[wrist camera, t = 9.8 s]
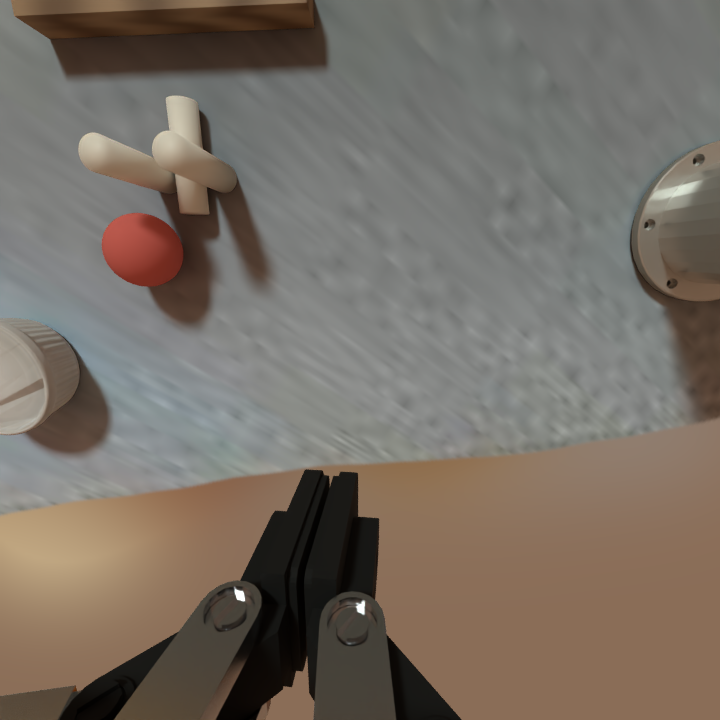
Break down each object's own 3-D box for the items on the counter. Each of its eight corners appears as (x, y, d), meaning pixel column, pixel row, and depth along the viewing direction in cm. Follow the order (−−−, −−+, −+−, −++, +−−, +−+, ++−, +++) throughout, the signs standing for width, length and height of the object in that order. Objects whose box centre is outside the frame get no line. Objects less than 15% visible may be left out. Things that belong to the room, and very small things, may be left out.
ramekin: (70, 432, 40) (26, 456, 35) (-26, 378, 39) (-86, 396, 34) (107, 348, 38) (64, 362, 33) (4, 288, 37) (-56, 293, 31)
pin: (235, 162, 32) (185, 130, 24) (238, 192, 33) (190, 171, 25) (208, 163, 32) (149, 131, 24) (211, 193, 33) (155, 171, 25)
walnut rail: (313, -4, 29) (305, -33, 26) (314, 27, 29) (306, 2, 26) (43, 9, 30) (7, -18, 27) (49, 38, 30) (14, 15, 28)
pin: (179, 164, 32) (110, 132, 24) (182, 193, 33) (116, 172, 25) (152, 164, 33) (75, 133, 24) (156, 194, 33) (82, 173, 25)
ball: (92, 224, 26) (157, 291, 29) (156, 188, 30) (208, 251, 33) (75, 249, 31) (134, 306, 33) (133, 215, 34) (182, 269, 37)
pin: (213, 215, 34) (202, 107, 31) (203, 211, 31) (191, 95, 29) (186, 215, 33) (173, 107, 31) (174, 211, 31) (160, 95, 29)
